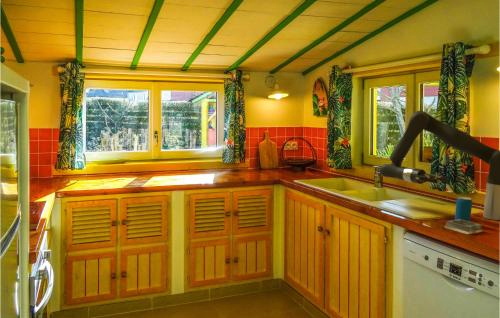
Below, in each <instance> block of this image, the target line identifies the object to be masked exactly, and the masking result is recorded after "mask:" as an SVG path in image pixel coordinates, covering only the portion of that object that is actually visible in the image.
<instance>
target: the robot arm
mask: <svg viewBox="0 0 500 318" xmlns="http://www.w3.org/2000/svg"><path fill="white" fill-rule="evenodd" d="M423 131H426V132H429V133H430V134H432V135H434V136H436V137H437V138H438V139H439V140H440V141H442V142H443V143H444V144H446V145H447V146H449V147H451V148H453V149H455V150H457V151H459V152H461V153H464V154H467V155H470V156H473V157H475V158H478V159H479V160H480V161H482V162H484V163H486V164H487V165H488V166H489V169H488V176H487V178H486V187H485V196H484V202H483V203H484V204H483V214H482V217H483V218H484V219H489V220H493V221H500V149H497V148H494V147H492V146H488V145H486V144H485V143H483V142H481V141H480V140H479V139H477V138H475V137H474V136H472V135H470V134H469V133H466V131H463V130H461V129H460V128H456V127H454V126H452V125H449V124H448V123H444V122H443V121H440V120H438V119H437V118H435V117H434V116H432V115H431V114H430V113H428V112H425V111H423V110H418V111H414V112H413V113H412V114H411V116H410V117H409V121H408V123H407V126H406V129H405V131H404V133H403V135H402V137H400V140H398V142H397V144H396V145H395V146H394V148H393V150H392V152H391V154H390V155H389V160H390V161H391V162H390V163H383V164H381V166H379V170H378V171H379V173H380V175H381V176H382V177H384V178H391V179H397V180H401V181H406V182H409V183H412V184H417V185H418V184H419V185H423V184H424V183H426V184H427V183H430V184H431V183H432V184H437V183H438V182H440V183H441V182H442V183H445V184H447V183H449V177H444V176H443V175H439V174H433V173H432V174H431V173H427V172H426V170H424V169H422V168H416V167H409V166H402V164H403V162H404V160H405V158H406V157H407V155H408V153H409V151H410V149H411V147H412V146H413V144H414V142H415V141H416V139H417V138H418V136H419V135H420V134H421V133H422V132H423Z"/></svg>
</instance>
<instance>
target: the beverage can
mask: <svg viewBox="0 0 500 318" xmlns="http://www.w3.org/2000/svg"><path fill="white" fill-rule="evenodd" d="M455 203H456V205H455V210H454V211H455V213H454V220H458V219H462V220H466V221H470V222H471V216H472V208H473V201H472V198H471V197H466V196H458V197H457V199H456V202H455Z"/></svg>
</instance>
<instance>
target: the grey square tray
mask: <svg viewBox="0 0 500 318" xmlns="http://www.w3.org/2000/svg"><path fill="white" fill-rule="evenodd" d="M482 225H483V224H480V223H476V222H473V221H471V220H470V221H466V220H462V219H458V220H455V219H453V220H446V223H445V225H444V229H448V230H450V231H451V230H452V231H455V232H458V233H462V234H466V235H472V234H477V233H481V232H484V229H482Z"/></svg>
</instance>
